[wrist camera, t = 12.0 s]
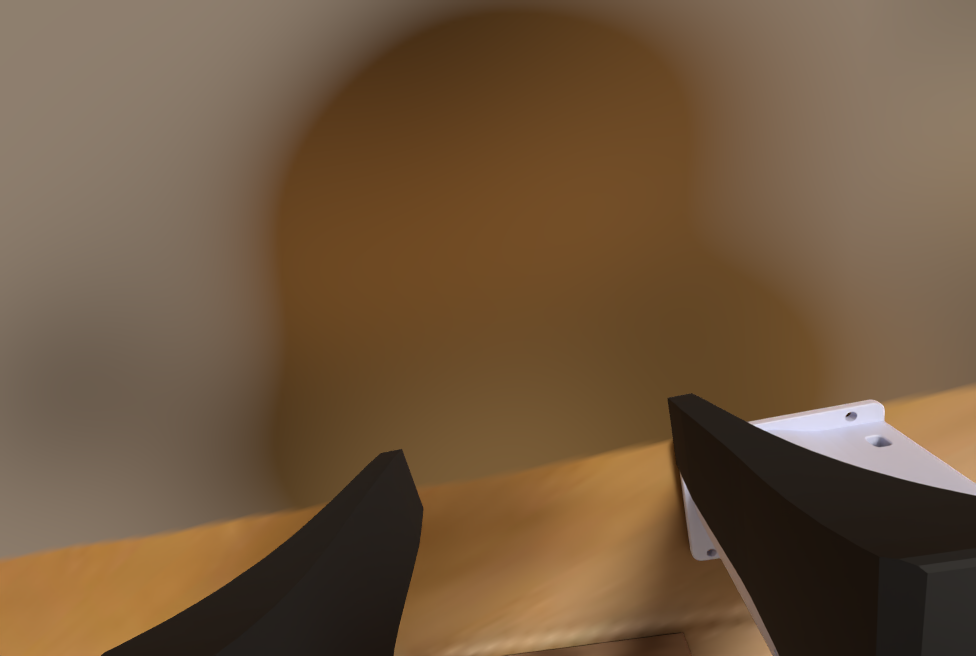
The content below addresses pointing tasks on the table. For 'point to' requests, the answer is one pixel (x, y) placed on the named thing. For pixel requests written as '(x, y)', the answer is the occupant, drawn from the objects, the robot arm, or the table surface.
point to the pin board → (625, 648)
